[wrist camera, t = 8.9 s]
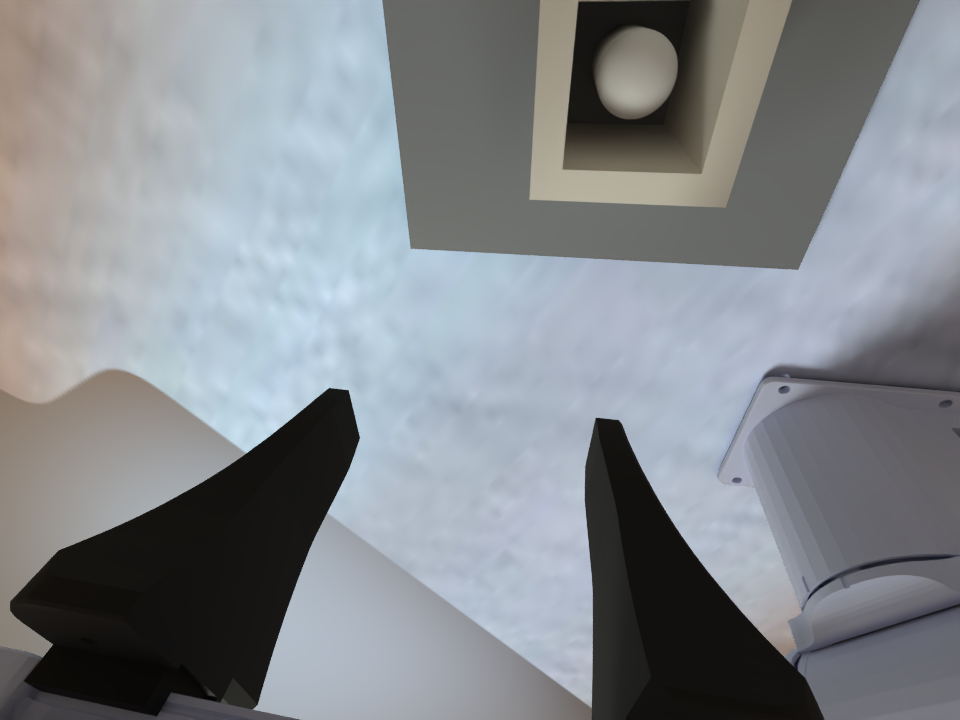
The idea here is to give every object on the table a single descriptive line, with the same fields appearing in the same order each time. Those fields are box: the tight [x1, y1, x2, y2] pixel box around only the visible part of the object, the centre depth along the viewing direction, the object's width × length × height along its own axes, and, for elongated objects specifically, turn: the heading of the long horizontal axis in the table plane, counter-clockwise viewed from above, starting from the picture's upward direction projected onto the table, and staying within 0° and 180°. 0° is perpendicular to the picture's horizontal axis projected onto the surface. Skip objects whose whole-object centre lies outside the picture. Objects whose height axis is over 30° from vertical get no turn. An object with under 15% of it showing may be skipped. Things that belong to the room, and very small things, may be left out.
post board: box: [383, 0, 920, 270], centre depth 13 cm, size 16×14×6 cm
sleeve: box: [529, 0, 792, 208], centre depth 13 cm, size 5×5×6 cm
